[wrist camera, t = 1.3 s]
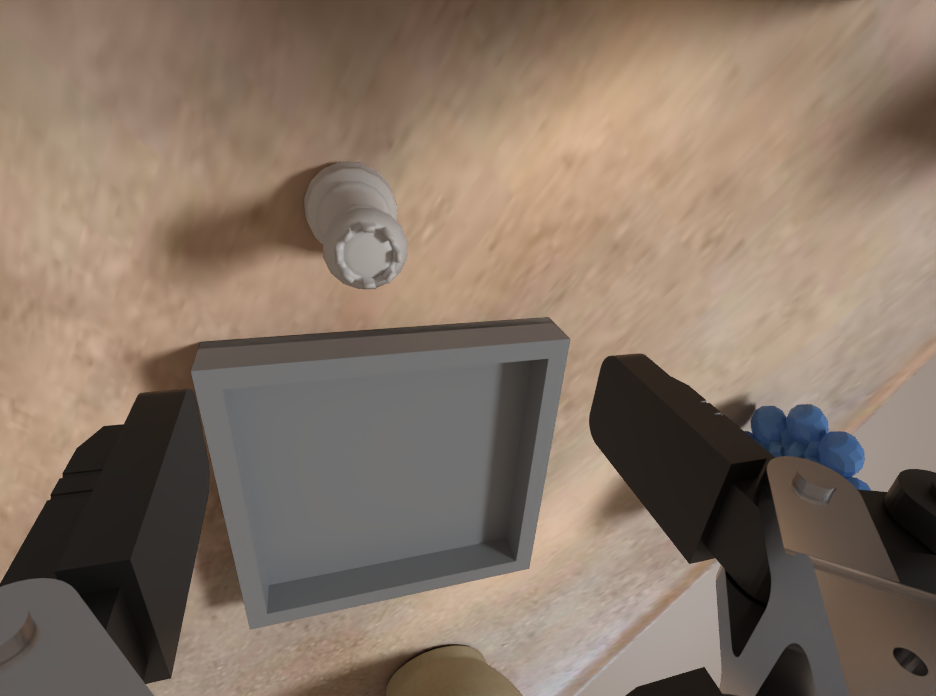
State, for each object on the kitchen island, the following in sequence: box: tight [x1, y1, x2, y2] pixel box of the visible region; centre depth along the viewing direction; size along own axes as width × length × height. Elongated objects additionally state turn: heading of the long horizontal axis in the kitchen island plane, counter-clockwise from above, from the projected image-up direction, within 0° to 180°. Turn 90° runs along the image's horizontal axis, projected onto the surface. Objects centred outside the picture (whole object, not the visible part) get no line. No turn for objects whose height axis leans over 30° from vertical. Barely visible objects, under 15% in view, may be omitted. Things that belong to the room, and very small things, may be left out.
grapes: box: [744, 404, 871, 491], centre depth 39 cm, size 12×7×12 cm, turn 150°
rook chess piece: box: [304, 162, 408, 289], centre depth 22 cm, size 4×4×8 cm
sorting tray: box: [191, 317, 570, 630], centre depth 33 cm, size 20×20×3 cm
